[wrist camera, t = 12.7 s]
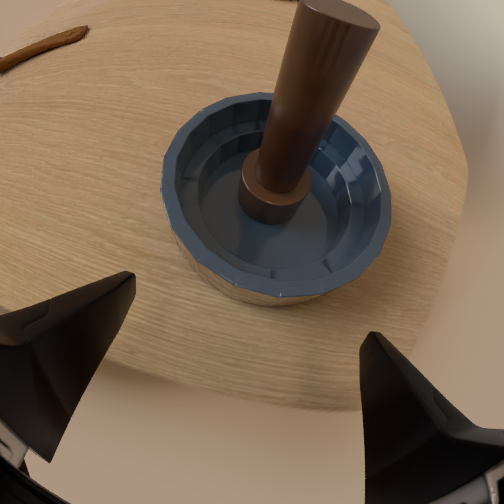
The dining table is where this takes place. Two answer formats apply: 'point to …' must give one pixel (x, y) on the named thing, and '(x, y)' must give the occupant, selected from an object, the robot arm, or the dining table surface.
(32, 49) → the primitive tool
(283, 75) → the pestle
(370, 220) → the bowl
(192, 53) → the dining table surface
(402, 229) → the dining table surface
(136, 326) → the dining table surface
